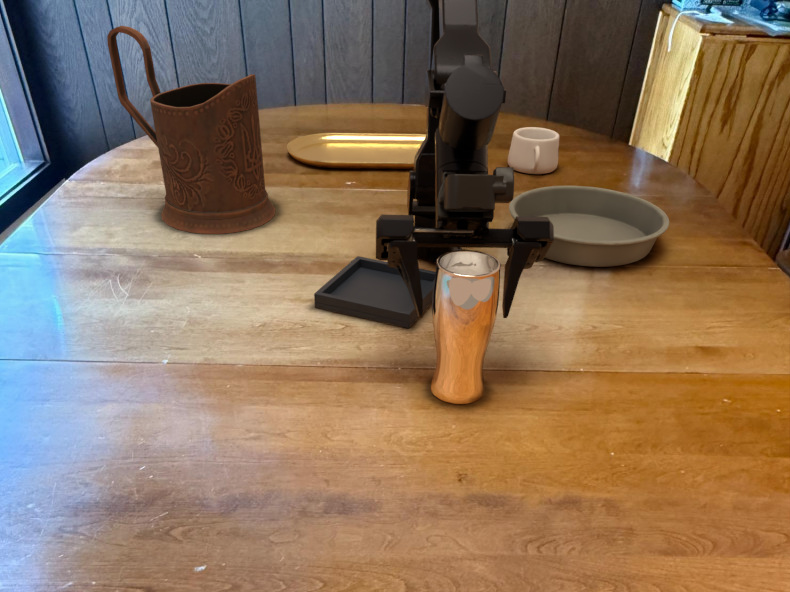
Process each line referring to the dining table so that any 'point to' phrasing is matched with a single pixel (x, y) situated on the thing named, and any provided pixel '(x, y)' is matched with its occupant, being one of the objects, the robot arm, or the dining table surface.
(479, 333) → the beer glass
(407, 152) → the serving platter
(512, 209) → the cake pan
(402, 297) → the serving tray
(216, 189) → the cup holder
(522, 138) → the mug
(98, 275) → the dining table surface
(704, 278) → the dining table surface
